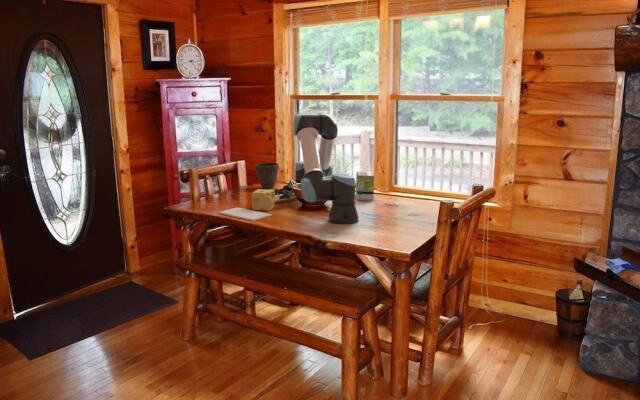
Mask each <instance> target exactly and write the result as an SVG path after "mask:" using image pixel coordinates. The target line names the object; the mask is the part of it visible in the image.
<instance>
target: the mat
mask: <svg viewBox="0 0 640 400" xmlns="http://www.w3.org/2000/svg"><path fill="white" fill-rule="evenodd" d="M219 213H220V214H221V215H224V216H229V217H234V218H238V219H242V220H246V221H251V222H257V221H259V220H263V219H266V218H270V217H272V213H268V212H267V213H266V212H262V211H258V210H253V209H252V210H251V209H249V208H248V209H247V208H243V207H234V208H230V209H226V210H222V211H219V212H218V214H219Z"/></svg>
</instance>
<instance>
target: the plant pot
mask: <svg viewBox="0 0 640 400" xmlns="http://www.w3.org/2000/svg"><path fill="white" fill-rule="evenodd" d="M255 171H256V175H257V177H258V181H259V184H260V187H261V189H262V190H270V189H275V186H276V182H277V179H278V173H279V163H275V162H261V163H257V164H255Z"/></svg>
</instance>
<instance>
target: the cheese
mask: <svg viewBox="0 0 640 400" xmlns="http://www.w3.org/2000/svg"><path fill="white" fill-rule="evenodd" d="M274 189H275V188H274ZM274 189H270V190H264V189H262V188H261V189H260V188H259V189H256V190H254V191H253V192H252V193H251V200H252V201H251V204H252V210H253V211H266V212H267V211H269V212H270V211H272V209H273V208H275V207H276V206H275V205H276V201H274V196H276V195H275V190H274Z"/></svg>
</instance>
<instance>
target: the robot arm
mask: <svg viewBox="0 0 640 400" xmlns="http://www.w3.org/2000/svg"><path fill="white" fill-rule="evenodd" d="M293 120H294V121H293V135H294V136H296V137H297V139H298V140H299V141H300V146H301V152H302V160H303V161H297V162H295V167H294V172H295V173H294V174H295V175H294V176H295V178H294V179H295V181H294V183H301V192H302V194H301V195H302V198H303V200H305V201H306V202H330V201H331V208H330V211H329V213H328V221H329V222H330V223H333V224H339V225H341V224H342V225H348V224H354V223H355V224H356V223H357V222H358V221H359V214H358V210H357V206H356V177H354V176H352V175H349V174H345V173H333V166H332V164H331V160H332V155H333V150H334V144H335V140H336V138H337V137H338V131H339V129H338V124H337V122H336V121H335V119H334V118H333V117H332V116H331V115H330V114H328V113H325V112H301V113H296V114H295V115H294V119H293ZM319 136H320V144H318V138H319ZM291 184H292V183H289V184H285V185H284V186H283V187H282V188H274V190H275V196H274V201H275V202H277V201H282V200H289V199H291V198H295V197H296V196H295V195H294V192H293V190H292V186H291Z"/></svg>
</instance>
